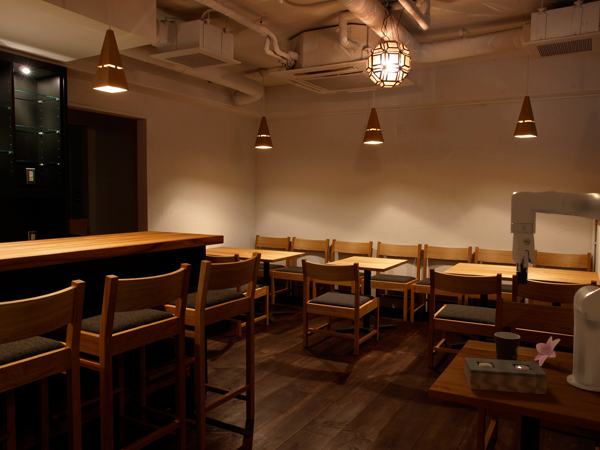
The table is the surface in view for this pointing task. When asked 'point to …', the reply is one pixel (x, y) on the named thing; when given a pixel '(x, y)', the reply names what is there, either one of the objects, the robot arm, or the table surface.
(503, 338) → the coffee mug
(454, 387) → the table surface
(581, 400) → the table surface
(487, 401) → the table surface
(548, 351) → the lily
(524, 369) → the steel peg
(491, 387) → the block
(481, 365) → the maple peg
